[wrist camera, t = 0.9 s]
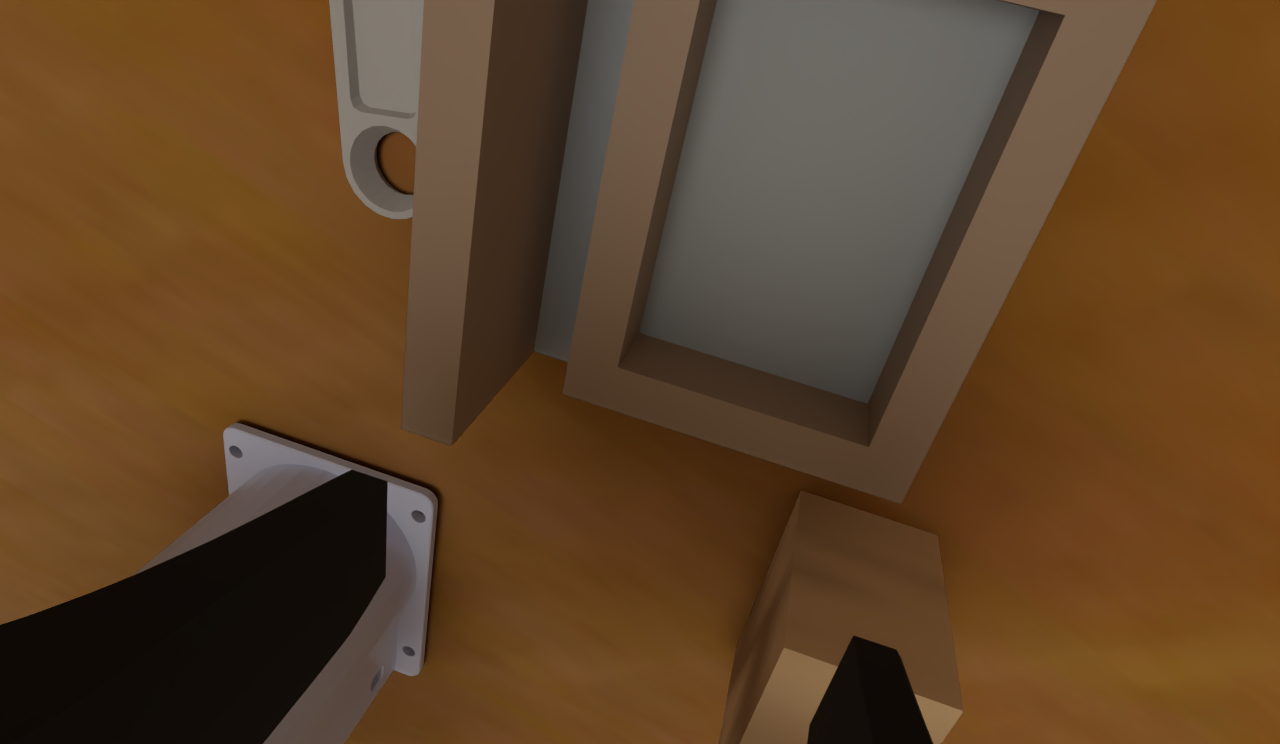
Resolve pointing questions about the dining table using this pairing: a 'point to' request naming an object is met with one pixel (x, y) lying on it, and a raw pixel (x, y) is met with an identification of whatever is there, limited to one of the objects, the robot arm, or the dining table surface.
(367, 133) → the adjustable wrench
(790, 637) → the light wooden block
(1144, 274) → the dining table surface
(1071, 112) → the stand
